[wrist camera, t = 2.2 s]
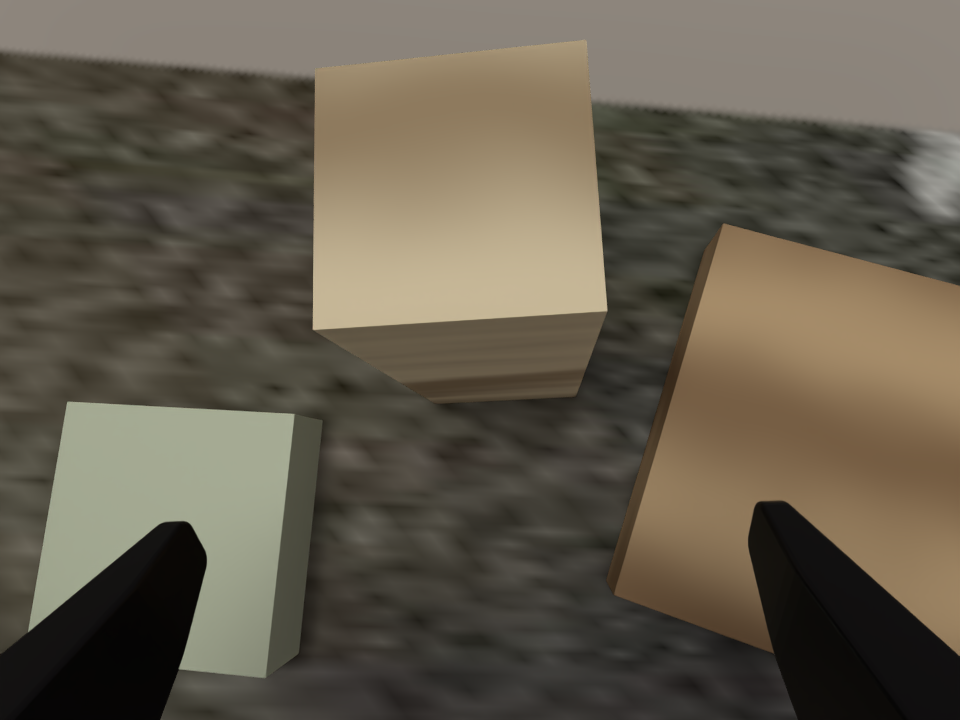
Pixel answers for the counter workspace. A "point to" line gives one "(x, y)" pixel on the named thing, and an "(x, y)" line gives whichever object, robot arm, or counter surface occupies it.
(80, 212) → the counter surface
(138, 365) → the counter surface
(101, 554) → the sage block
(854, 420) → the oak block
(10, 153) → the counter surface
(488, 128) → the beech post
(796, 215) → the counter surface
